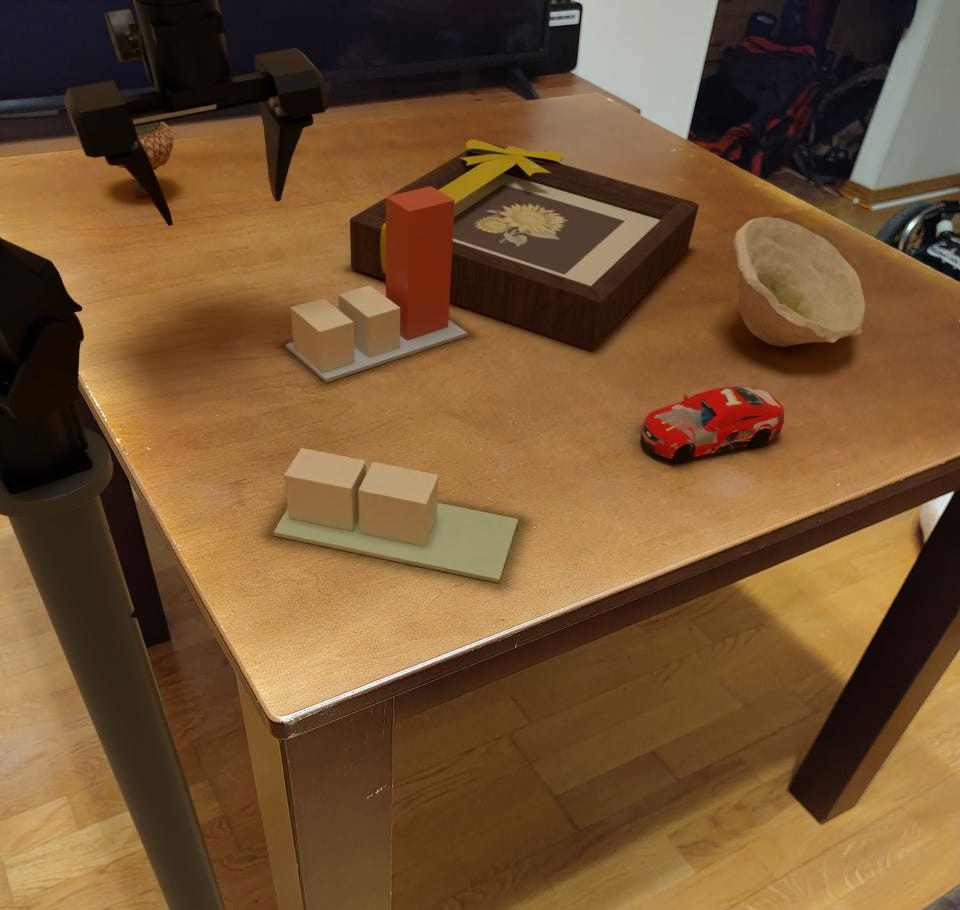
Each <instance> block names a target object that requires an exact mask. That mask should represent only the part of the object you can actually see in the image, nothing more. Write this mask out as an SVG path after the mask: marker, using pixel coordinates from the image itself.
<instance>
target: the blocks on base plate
mask: <svg viewBox="0 0 960 910" xmlns="http://www.w3.org/2000/svg"><path fill="white" fill-rule="evenodd" d="M337 295H338V308H337V307H336V306H334V305H333V304H332V303H331V302H329V301H328V300H327V299H326V298H325V297H323V298H319V299H316V300H312V301H309V302H304V303H301V304H298V305H294V306H291V307H290V318H291V319H290V320H291V331H292V342H288V343H286V344H285V348H286V349H287V350H288V351H289V352H290V353H291V354H292V355H294V356H295V357H296V358H297V359H298V360H299V361H300V362H302V363H303V364H304V365H305V366H306V367H307V368H308V369H309V370H311V371H312V372H313V373H314V374H315V375H316V376H318V377H319V378H320V379H321V380H322V381H323V382H325V383H330V382H332V381H335V380H338V379H341V378H345V377H348V376H351V375H354V374H357V373H359V372H363V371H367V370H368V369H373V368H376V367H378V366H381V365H384V364H387V363H390V362H393V361H396V360H399V359H402V358H405V357H408V356H412V355H415V354H418V353H420V352H423V351H426V350H429V349H433V348H435V347H438V346H441V345H444V344H447V343H451V342H453V341H456V340H460V339H463V338H465V337H468V332H467V331H466V330H464V329H463V328H462V327H460V326H459V325H458V324H456V323H454V322H453V321H452V320H450V319H449V322H448V327H446V328H443V329H440V330H437V331H434V332H431V333H428V334H425V335H422V336H419V337H416V338H413V339H410V340H406V339H405V338H403V337H402V336H400V307H399V306H397V305H396V304H395V303H393V302H392V301H390V300H389V299H388V298H386V295H384V294H383V293H381V291H379V290H377V289H376V288H374V287H373V286H372V285H366V286H362V287H359V288H355V289H351V290H348V291H344V292H341V293H338V294H337Z"/></svg>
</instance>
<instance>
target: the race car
mask: <svg viewBox="0 0 960 910" xmlns="http://www.w3.org/2000/svg"><path fill="white" fill-rule="evenodd" d="M682 397H683V400H681V401H680V402H677V403H674V404H670V405H667V406H664V407H661V408H658V409H654V410H652V411H651V412H649V413H648V414H647V415H646V416H645V418H644V420H643V423H642V428H641V432H640V439H641V440H642V443H643V444H644V446H646V447H647V448H648V449H649V450H651V452H654V453H655V454H656V455H658V456H661V457H663V458H666V459H669V460H673V461H674V462H676V463H677V464H682V463H685V462H686V461H688V460H689V459H691V457H692V456H693V457H695V458H696V457H700V456H705V455H710V454H714V453H720V452H725V451H730V450H734V449H739V448H745V447H751V448H759V447H761V446H763V445H764V444H765V443H766V442H767V441H771V440H774V439H776V438H777V437H778V436H779V435H780V434H781V431H782V429H783V426H784V424H785V409H784V406H783V405H782V404H781V403H780V402H779V401H778V400H777V399H776V398H775V397H774V396H773V395H771V394H770V393H769V392H768V391H766V390H762V389H758V388H756V387H755V388H754V387H753V388H752V387H748V386H726V387H719V388H714V389H713V388H712V389H709V390H706V391H701V392H699V393H695V394H694V395H692V396H690V397H689V396H688V395H687V394H683V396H682Z"/></svg>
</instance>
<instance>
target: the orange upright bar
mask: <svg viewBox="0 0 960 910" xmlns="http://www.w3.org/2000/svg"><path fill="white" fill-rule="evenodd" d="M385 198H386V279H385V297H386V298H388V299H389V300H390V301H392V302H393V303H395V304H396V305H397V306H399V307H400V336H402V337H403V338H405V339H406V340H410V339H413V338H416V337H419V336H422V335H425V334H428V333H431V332H434V331H437V330H440V329H443V328H446V327H448V322H449V320H450V319H449V318H450V303H451V302H450V283H451V263H452V244H453V224H454V204H455V200H454V199H452V198H450V197H449V196H447V195H445V194H444V193H442V192H440V191H438V190H437V189H435V188H433V187H432V186H429V187H425V188H421V189H417V190H413V191H408V192H404V193H400V194H396V195H392V196H389V195H387V196H385Z"/></svg>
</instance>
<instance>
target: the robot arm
mask: <svg viewBox="0 0 960 910" xmlns="http://www.w3.org/2000/svg"><path fill="white" fill-rule="evenodd" d="M132 2H133V5H134V9H135V13H136V17H137V20H138V21H137V22H136V21H135V17H134V15H133V12H132V10H131V9H130V8H124V9H118V10H113V11H106V12H104V17H105V21H106V24H107V28H108V32H109V35H110V39H111V42H112V45H113V48H114V52H115V55H116V57H117V60H118V61H119V63H124V62H125V63H126V62H130V61H136V60H142V63H143V66H144V71H145V74H146V78H147V80H148V81H149V83H150V84H154V85H155V90H156V91H150V92H144V93H140V94H135V95H134V94H133V95H128V96H123V94H122V93H121V91H120V88H119V87H118V85H117V83H116V82H115V80H114V79H112V80H106V81H102V82H95V83H90V84H85V85H79V86H73V87H68V88H67V89H66V93H65V95H64V98H63V102H64V105H65V109H66V112H67V115H68V117H69V121H70V122H71V126H72V128H73V131H74V133H75V135H76V137H77V140H78V142H79V144H80V146H81V148H82V151H83V152H84V155H85V156H86V157H88V158H93V159H97V158H103V157H104V160H105V162H106V163H107V165H108V166H112V167H118V166H117V165H123V166H124V167H125V168H124V169H126V171H127V172H128V173H129V174H130V175H131V176H132V177H133V178H134V180H135V181H136V183H137V182H138V183H139V184H140V185H141V186H142V187H143V189H144V190H145V191H146V193H147V196H148V197H149V199H150V200H151V202H152V203H153V205H154V206H155V208H156V209H157V211H158V213H159V214H160V215H161V217H162V218H163V220H164V221H165V223H166V224H167V226H168V227H170V226H173V225H174V222H173V218H172V214H171V210H170V207H169V205H168V202H167V200H166V197H165V195H164V193H163V190H162V188H161V185H160V183H159V180H158V178H157V175H156V173H155V170H153V168H152V165H151V163H150V160H149V158H148V155H147V153H146V151H145V149H144V147H143V146H142V144H141V142H140V140H139V138H138V136H137V133H136V129H135V127H136V126H141V125H146V124H152V123H157V122H162V121H163V122H166V121H172V120H177V119H182V118H187V117H193V116H197V115H198V116H199V115H203V114H207V113H213V112H219V111H224V110H230V109H234V108H235V109H236V108H239V107H244V106H249V105H255V104H258V108H259V112H260V116H261V117H260V118H261V121H262V125H263V126H262V127H263V134H264V135H263V136H264V145H265V155H266V156H265V157H266V165H267V176H268V181H269V186H270V191H271V195H272V198H273V199H274V201H275V202H276V203H278V202H281V200H282V197H283V193H284V189H285V186H286V181H287V177H288V173H289V169H290V166H291V163H292V158H293V156H294V153H295V150H296V148H297V145H298V143H299V141H300V138H301V135H302V134H303V130H304V129H305V128H307V127H311V126H313V125H314V116H313V115H319V114H322V113H325V112H326V111H327V110H328V109H329V103H328V95H327V87H326V83H325V80H324V77H323V74H322V73H321V72H320V71H319V69H318V68H317V67H316V66H315V65H314V63H312V62H311V60H310V59H309V58H308V57H307V56H306V55H305V54H304V53H303V52H302V51H301V50H300V49H299V48H297V47H292V48H287V49H282V50H276V51H270V52H265V53H258V54H255V55H254V62H253V64H254V70H255V72H254V73H248V74H241V75H237V76H233V71H232V66H231V60H230V55H229V51H228V45H227V40H226V36H225V34H226V30H225V25H224V20H223V16H222V15H221V10H220V5H219V1H218V0H132ZM82 311H83V306H81V305H80V304H79V303H78V302H76V301H75V300H74V299H73V297H72V296H71V295H70V294H69V292H68V290H67V288H66V285H65V284H64V281H63V279H62V276H61V274H60V272H59V270H58V268H57V267H56V265H55V263H54V262H53V261H52V260H50V259H48V258H46V257H44V256H41V255H39V254H37V253H35V252H33V251H31V250H28V249H26V248H24V247H22V246H20V245H18V244H15V243H14V242H11V241H9V240H6V239H4V238H2V237H0V481H1V483H2V484H3V486H4V487H5V489H6V490H7V492H8V493H9V494H18V493H21V492H23V491H26V490H29V489H32V488H35V487H38V486H41V485H44V484H47V483H50V482H53V481H56V480H59V479H62V478H65V477H68V476H71V475H74V474H77V473H80V472H83V471H86V470H89V469H91V468H92V467H93V464H92V460H91V459H90V458H89V456H88V455H87V454H86V453H85V451H84V450H85V449H87V448H88V446H89V445H88V442H87V439H86V435H85V432H84V429H83V427H84V425H83V422H82V419H81V415H80V412H79V408H78V405H77V404H76V401H77V400H78V398H79V379H80V378H79V377H80V376H79V373H80V354H81V353H80V352H81V344H82V342H83V341H84V339H85V334H84V333H85V332H84V328H83V325H82V323H81V320H80V318H79V317H78V315H77V313H79V312H80V313H81V312H82Z"/></svg>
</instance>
